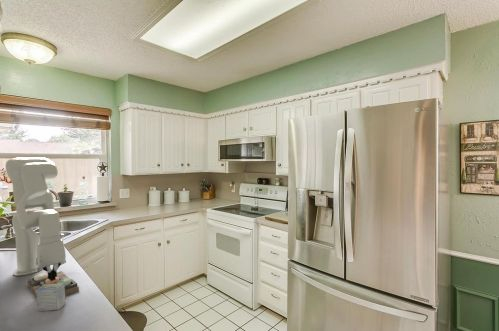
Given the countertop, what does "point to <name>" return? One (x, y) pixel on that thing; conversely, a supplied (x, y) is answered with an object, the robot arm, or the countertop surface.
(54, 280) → the terracotta button
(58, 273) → the button panel
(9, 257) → the countertop surface
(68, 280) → the sage button
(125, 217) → the countertop surface
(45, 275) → the cream button
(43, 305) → the medicine box
